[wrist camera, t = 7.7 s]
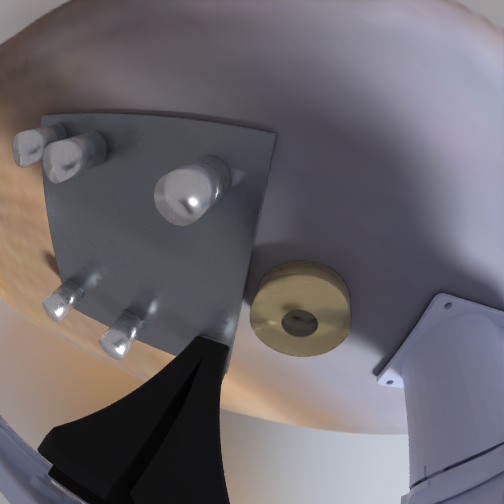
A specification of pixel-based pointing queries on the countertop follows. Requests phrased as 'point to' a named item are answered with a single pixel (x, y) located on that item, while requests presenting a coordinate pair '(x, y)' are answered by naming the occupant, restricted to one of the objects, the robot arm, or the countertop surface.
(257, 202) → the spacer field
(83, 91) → the countertop surface
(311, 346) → the brass nut
